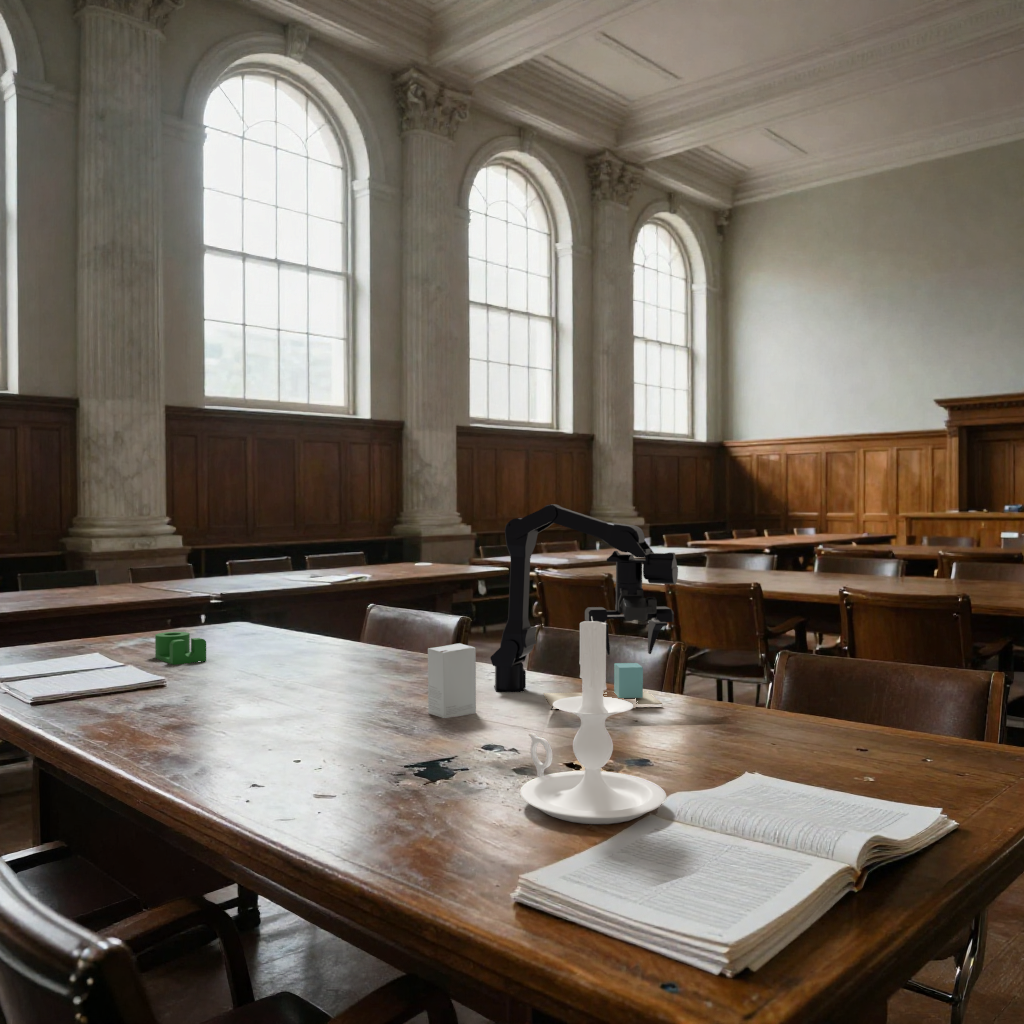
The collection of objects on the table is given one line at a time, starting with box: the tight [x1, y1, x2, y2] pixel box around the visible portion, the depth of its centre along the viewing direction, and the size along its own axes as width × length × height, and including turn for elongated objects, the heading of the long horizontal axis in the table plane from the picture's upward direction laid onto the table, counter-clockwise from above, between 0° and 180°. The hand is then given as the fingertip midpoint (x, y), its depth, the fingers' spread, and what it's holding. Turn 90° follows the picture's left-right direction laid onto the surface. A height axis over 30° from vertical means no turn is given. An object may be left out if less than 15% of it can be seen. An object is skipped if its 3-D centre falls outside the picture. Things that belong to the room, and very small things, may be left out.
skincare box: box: [427, 642, 477, 719], centre depth 186 cm, size 8×6×15 cm
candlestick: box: [519, 616, 668, 825], centre depth 133 cm, size 21×25×28 cm
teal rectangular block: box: [613, 662, 644, 698], centre depth 203 cm, size 5×5×7 cm
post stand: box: [542, 690, 663, 707], centre depth 202 cm, size 24×12×8 cm, turn 96°
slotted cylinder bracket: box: [154, 631, 207, 666], centre depth 256 cm, size 18×9×6 cm, turn 39°
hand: (628, 654), depth 203 cm, fingers open, 9 cm apart
